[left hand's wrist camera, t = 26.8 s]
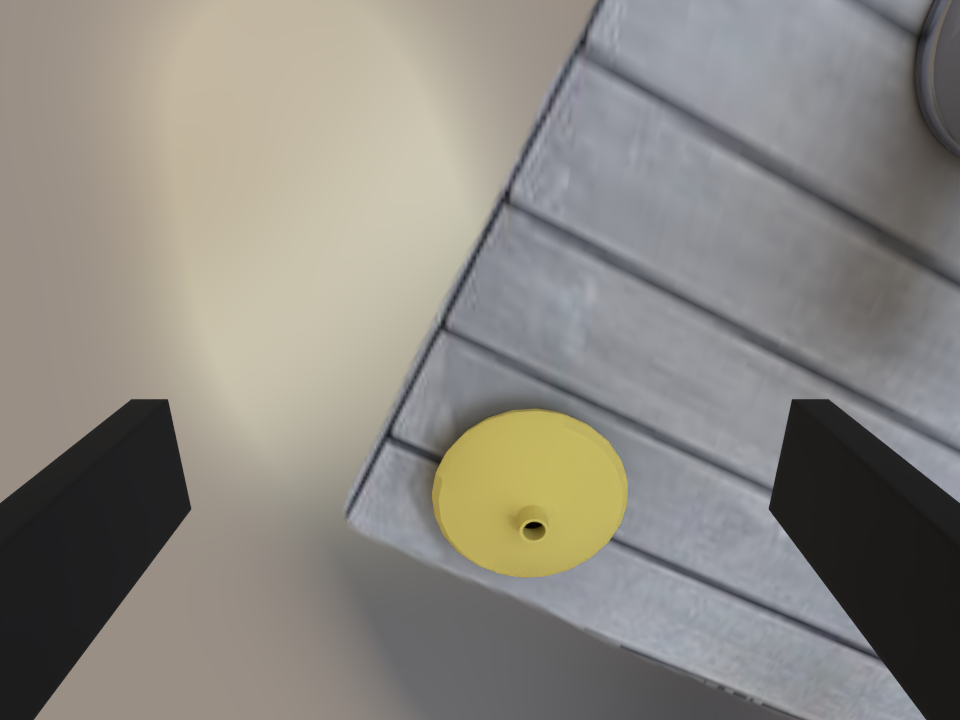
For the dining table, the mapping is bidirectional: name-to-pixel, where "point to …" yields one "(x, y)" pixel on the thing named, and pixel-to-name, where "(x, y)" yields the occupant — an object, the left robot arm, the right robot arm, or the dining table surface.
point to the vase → (530, 493)
